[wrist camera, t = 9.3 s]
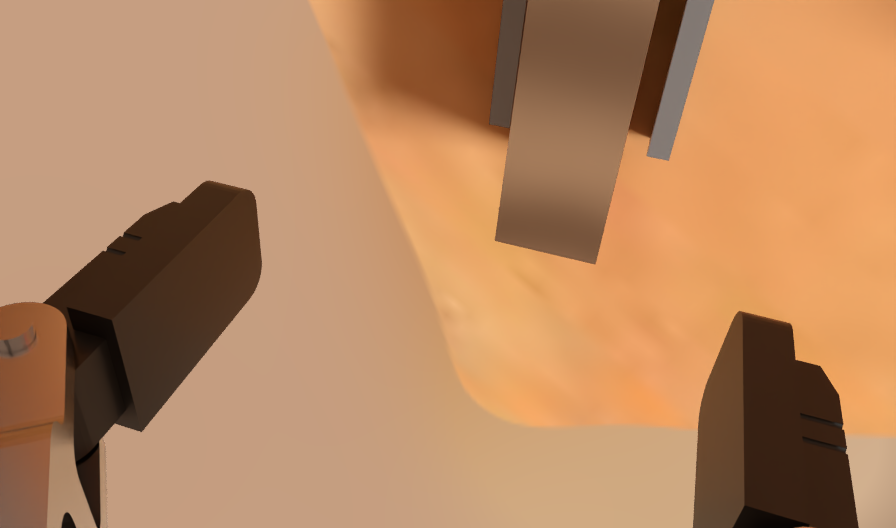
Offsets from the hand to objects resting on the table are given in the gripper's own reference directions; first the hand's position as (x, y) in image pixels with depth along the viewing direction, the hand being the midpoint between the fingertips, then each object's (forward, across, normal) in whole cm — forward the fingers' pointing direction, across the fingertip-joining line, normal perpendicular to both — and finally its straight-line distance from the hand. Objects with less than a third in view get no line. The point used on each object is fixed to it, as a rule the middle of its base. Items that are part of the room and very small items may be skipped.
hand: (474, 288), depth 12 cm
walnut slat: (+18, 0, 0) cm, 18 cm away
